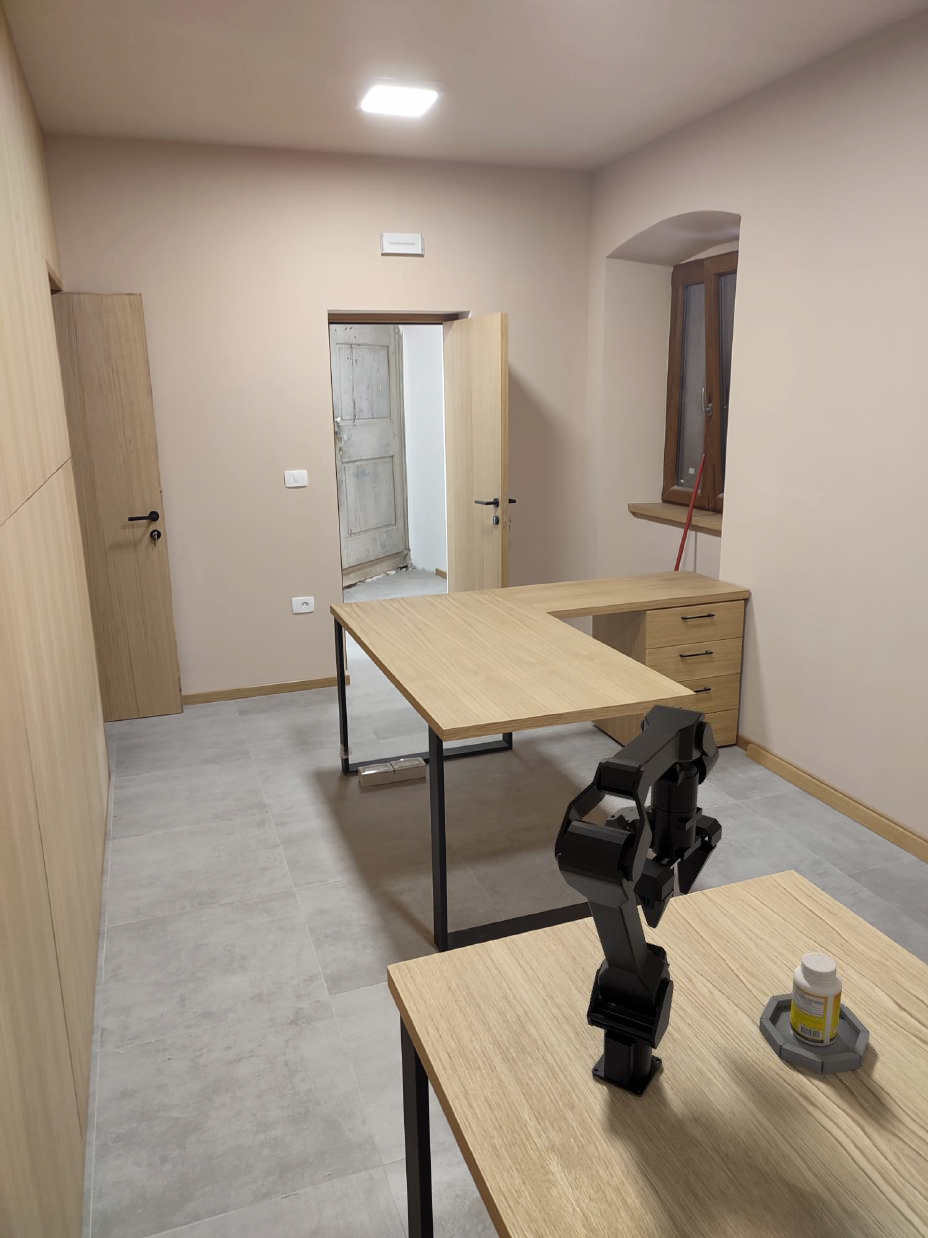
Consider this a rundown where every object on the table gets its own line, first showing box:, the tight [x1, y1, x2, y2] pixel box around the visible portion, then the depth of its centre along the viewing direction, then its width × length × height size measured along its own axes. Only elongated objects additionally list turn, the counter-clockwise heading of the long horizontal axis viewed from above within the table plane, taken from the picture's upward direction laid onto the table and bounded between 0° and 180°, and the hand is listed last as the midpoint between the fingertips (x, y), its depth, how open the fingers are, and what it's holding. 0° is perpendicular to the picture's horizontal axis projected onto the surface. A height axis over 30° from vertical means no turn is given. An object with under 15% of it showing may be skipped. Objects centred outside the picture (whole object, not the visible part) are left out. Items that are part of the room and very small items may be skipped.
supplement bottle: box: [790, 951, 843, 1046], centre depth 107 cm, size 6×6×10 cm
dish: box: [758, 992, 871, 1075], centre depth 108 cm, size 12×12×2 cm
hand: (668, 909), depth 113 cm, fingers open, 9 cm apart
